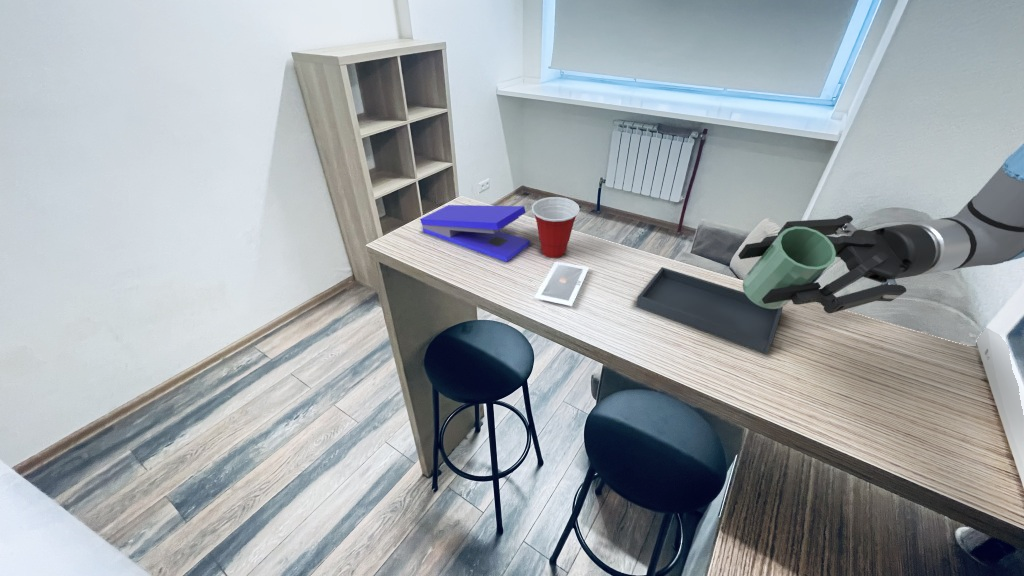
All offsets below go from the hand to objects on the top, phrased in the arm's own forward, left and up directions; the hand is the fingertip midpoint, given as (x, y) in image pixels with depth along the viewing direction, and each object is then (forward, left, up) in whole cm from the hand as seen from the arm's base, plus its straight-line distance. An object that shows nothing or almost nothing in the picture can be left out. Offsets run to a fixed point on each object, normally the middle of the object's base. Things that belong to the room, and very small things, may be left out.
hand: (755, 273), depth 57 cm
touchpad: (+29, +17, -18) cm, 38 cm away
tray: (+13, -7, -18) cm, 23 cm away
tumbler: (+2, -5, -5) cm, 7 cm away
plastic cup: (+43, +14, -18) cm, 48 cm away
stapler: (+56, +31, -18) cm, 66 cm away
